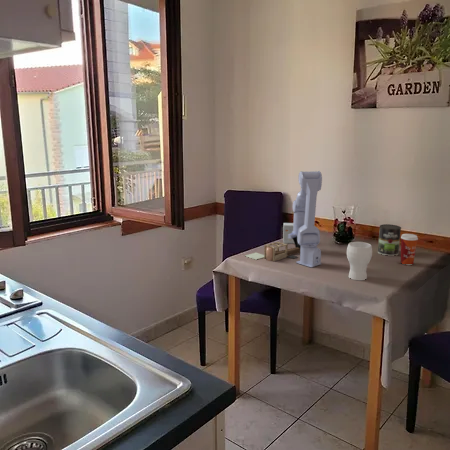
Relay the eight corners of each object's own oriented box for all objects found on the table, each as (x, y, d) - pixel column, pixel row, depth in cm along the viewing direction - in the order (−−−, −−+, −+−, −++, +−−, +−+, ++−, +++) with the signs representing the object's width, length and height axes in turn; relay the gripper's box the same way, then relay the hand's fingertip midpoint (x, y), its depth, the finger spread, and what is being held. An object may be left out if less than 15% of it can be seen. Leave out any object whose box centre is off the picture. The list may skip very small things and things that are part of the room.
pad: (267, 256, 229) (267, 256, 229) (255, 260, 224) (255, 259, 224) (255, 253, 235) (255, 252, 235) (244, 256, 230) (244, 255, 230)
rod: (300, 252, 236) (300, 248, 235) (272, 258, 226) (272, 254, 226) (297, 251, 238) (297, 247, 237) (269, 257, 228) (269, 252, 228)
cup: (365, 273, 205) (367, 241, 202) (373, 281, 195) (376, 248, 191) (342, 273, 205) (344, 241, 201) (349, 282, 195) (351, 248, 191)
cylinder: (275, 259, 225) (276, 247, 224) (270, 261, 222) (271, 249, 221) (269, 257, 228) (269, 246, 226) (264, 259, 225) (264, 247, 224)
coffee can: (399, 256, 229) (402, 229, 225) (378, 255, 231) (380, 228, 228) (397, 250, 238) (399, 224, 235) (376, 249, 241) (378, 223, 238)
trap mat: (298, 257, 228) (298, 256, 228) (293, 258, 226) (293, 258, 226) (292, 255, 231) (292, 254, 231) (287, 257, 229) (287, 256, 229)
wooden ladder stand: (287, 257, 229) (287, 244, 227) (273, 261, 222) (273, 248, 221) (277, 254, 233) (278, 241, 232) (264, 258, 227) (264, 245, 225)
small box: (297, 241, 257) (297, 222, 255) (297, 243, 252) (298, 225, 250) (282, 240, 258) (283, 222, 256) (283, 243, 253) (283, 225, 250)
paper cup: (405, 267, 213) (407, 238, 210) (394, 262, 221) (397, 234, 217) (419, 265, 215) (422, 236, 212) (408, 260, 223) (411, 232, 219)
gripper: (302, 220, 243) (301, 245, 246) (283, 225, 233) (283, 250, 237) (312, 223, 237) (311, 248, 241) (294, 227, 228) (293, 253, 231)
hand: (298, 249), depth 238 cm, fingers closed
